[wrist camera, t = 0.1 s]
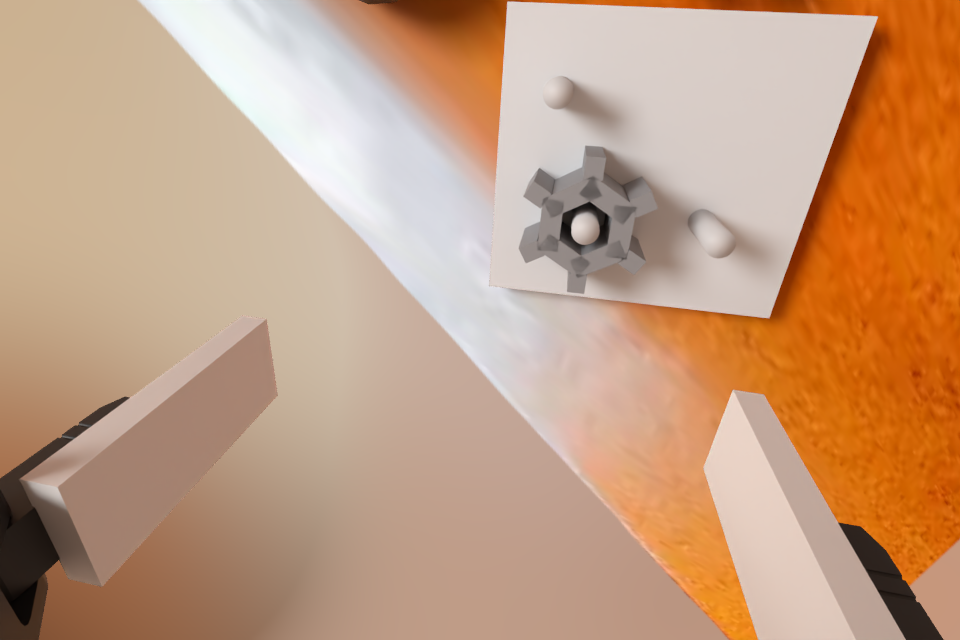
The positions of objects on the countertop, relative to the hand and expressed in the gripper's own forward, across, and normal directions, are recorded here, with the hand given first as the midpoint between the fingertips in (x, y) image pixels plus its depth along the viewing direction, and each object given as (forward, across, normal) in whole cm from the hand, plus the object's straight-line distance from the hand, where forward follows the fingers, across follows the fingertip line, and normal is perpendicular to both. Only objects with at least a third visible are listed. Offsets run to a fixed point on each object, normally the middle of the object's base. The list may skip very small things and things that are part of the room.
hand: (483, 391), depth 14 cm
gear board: (+28, +8, +2) cm, 29 cm away
